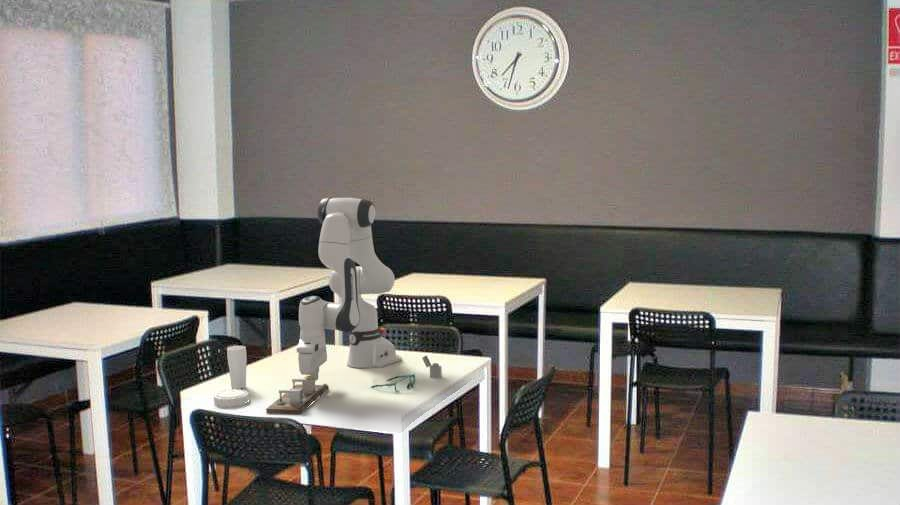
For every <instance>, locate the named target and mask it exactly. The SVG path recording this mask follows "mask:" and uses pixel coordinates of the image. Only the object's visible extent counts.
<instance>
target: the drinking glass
mask: <svg viewBox="0 0 900 505" xmlns="http://www.w3.org/2000/svg"><path fill="white" fill-rule="evenodd" d="M246 348H247V347H246V346H244V345H232V346H229V347H227V348H226V351H227V352H226V357H227V365H228V370H229V377H230V386H231V388H232V389H233V388H235V389H240V388H243V389H245V388H247V360H248V359H247V349H246Z"/></svg>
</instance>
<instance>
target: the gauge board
mask: <svg viewBox="0 0 900 505" xmlns="http://www.w3.org/2000/svg"><path fill="white" fill-rule="evenodd" d="M322 385H323V384H315V391H316V390H317V389H318V388H320V387H321V386H322ZM291 389H293V387H292V388H290V389H289V390H291ZM295 389H302V390H303V387H302V383H301V384H295ZM328 390H329V385H328V384H327V386H326V387H325V388H324V389H323V390H321V391H320V392H319V393H318V394H317V395H316V396H315V397H314V398H312V399H311V400H310V401H309V402H308V403H307V404H306V405H305V406H303V407H302V408H301V409H298V406H294V405H290V396H289V393H283V394H282V402H280V397H279V398H278V399H277V400H275V401H274V402H273V403H272V404H270V405H269V406H267V408H266V409H265V412H266V413H265V414H283V415H285V414H286V415H301V414H303V413H304V412H306V410H307V409H308V408H309V407H310V406H311V405H310V404H311V403H312V402H313V401H315V400H316V399H317V398H318V397H319V396H320V397H322V396H323V395H324V394H325V393H326V392H328ZM324 392H325V393H324ZM323 393H324V394H323ZM322 394H323V395H322ZM310 395H311V394H303V401H305V400H306V399H307V398H308V397H309V396H310ZM321 395H322V396H321ZM320 397H319V398H320ZM319 398H318V399H319ZM318 399H317V400H318ZM317 400H316V401H317ZM316 401H315V402H316ZM309 405H310V406H309ZM308 406H309V407H308ZM307 407H308V408H307Z"/></svg>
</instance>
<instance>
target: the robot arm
mask: <svg viewBox="0 0 900 505" xmlns="http://www.w3.org/2000/svg"><path fill="white" fill-rule="evenodd" d="M316 210H317V211H316V214H317V219H318V221H319V222H320V224H321V225H322V226H321V229H320V233H319V234H320V236H319V241H318V251H317V252H318V258H319V260H320V262H321V263H322V264H323V265H324V266H325V267H327V268H328V269H329V270H332V271H330V274H329V277H328V286H329V288H330V289H331V291H332V292H333V293H334V294H336V295H337V296H338V297H339V298H340V299H341V300H342V301H341V303H339V302H332V301H326V300H324V299H322V298H321V297H320V296H318V295H311V296H306V297H304V298H302V299H300V302H299V307H298V324H299V327H300V331H299V332H300V333H299V340H298V341H299V342H298V344H297V346H296V353H297V354H298V356H297V357H298V358H297V359H298V368H299V369H298V370H299V373H300V374H301V375H302V376H304V375H305V376H312V378H315V382H316V381H318V380H319V374H320V367H321V366H322V365H324V364H325V363H326V362H327V361H328V354H327V353H328V352H327V344H326V332H325V329H326V330H331V331H332V330H333V331H339V332H343V333H348V340H349V349H348V350H349V351H348V359H347V364H346V365H347V367H348V366H349V367H352V368H357V369H358V368H360V369H364V368H365V369H368V368H377V369H378V368H382V367H385V366H388V365H391V364H394V363H396V362H398V361H402V360H403V359H402V358H403V357H402V356H401V355H399V354H397V353H396V348H395V345H394V344H393V343H392V342H391V341H390V340H388V339H386V338H385V337H383V335H382V334H386V332H387V329H386V328H384V327H381V328H380V327H379V323H378V310H377V308H376V307H375V306H374V304H372V303H369V302H368V301H366V300H364V298H363V297H362V295H380V294H384V293H389V292H391V290H392V289H393V287H394V286H395V283H396V282H395V281H396V279H395V274H394V273H393V270H392V269H391V268H390V267H388V266H386V265H385V264H384V263H382V261H381V260H380V259H379V257H378V256H377V255H376V253H375V247H374V242H373V232H372V225H373V224H374V222H375V220H376V212H377V211H376V210H377V209H376V206H375V204H374V203H373V201H371V200H369V199H366V198H362V199H360V198H356V197H355V198H354V197H331V196H330V197H324V198H322V199H321V200H320V201H319V203H318V205H317V209H316ZM356 264H358V265H359V266H356Z"/></svg>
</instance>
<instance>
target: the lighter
mask: <svg viewBox="0 0 900 505" xmlns="http://www.w3.org/2000/svg"><path fill="white" fill-rule="evenodd" d="M421 359H422V361H423V362H424V364H425V367H426V368H429V378H430V379H431V378H433V379H442V376H443V374H442V373H443V372H442V371H443V370H442V368H443V367H442V365H440V364H439V363H437V362H433V363H432V364H431V362H430V358H429V357H428V355H424V356H422V358H421Z"/></svg>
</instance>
